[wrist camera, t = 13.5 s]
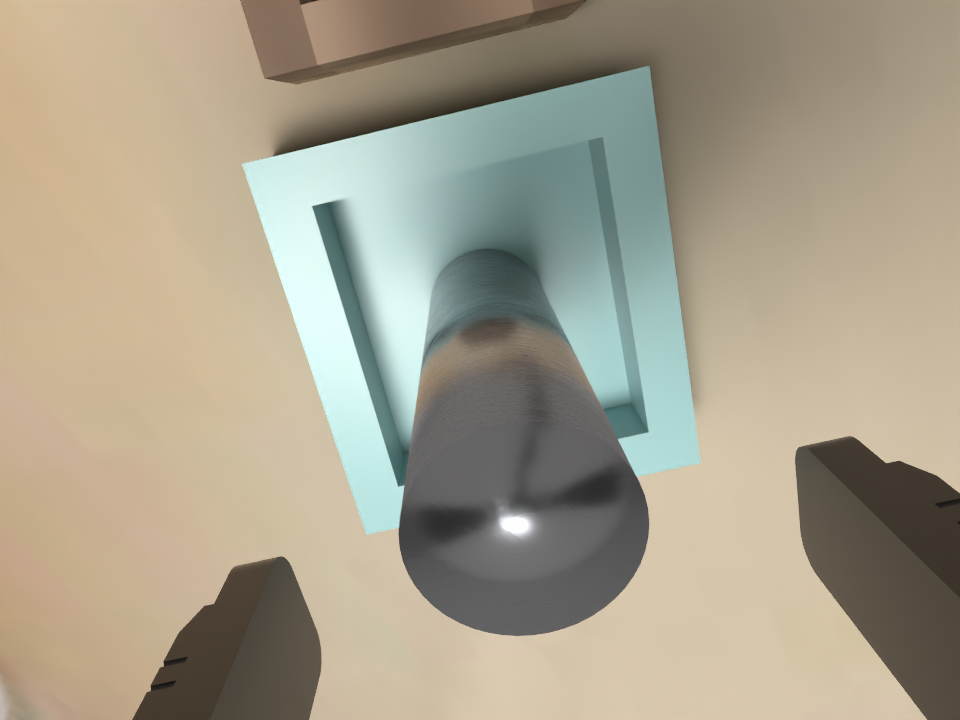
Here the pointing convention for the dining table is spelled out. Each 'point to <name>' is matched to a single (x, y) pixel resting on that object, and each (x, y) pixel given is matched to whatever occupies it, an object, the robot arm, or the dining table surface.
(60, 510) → the dining table surface
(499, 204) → the tray
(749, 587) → the dining table surface
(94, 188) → the dining table surface
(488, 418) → the pin
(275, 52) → the holder
